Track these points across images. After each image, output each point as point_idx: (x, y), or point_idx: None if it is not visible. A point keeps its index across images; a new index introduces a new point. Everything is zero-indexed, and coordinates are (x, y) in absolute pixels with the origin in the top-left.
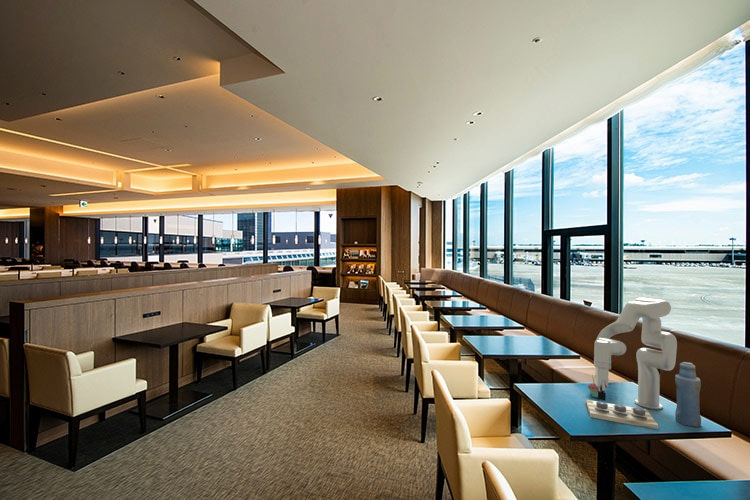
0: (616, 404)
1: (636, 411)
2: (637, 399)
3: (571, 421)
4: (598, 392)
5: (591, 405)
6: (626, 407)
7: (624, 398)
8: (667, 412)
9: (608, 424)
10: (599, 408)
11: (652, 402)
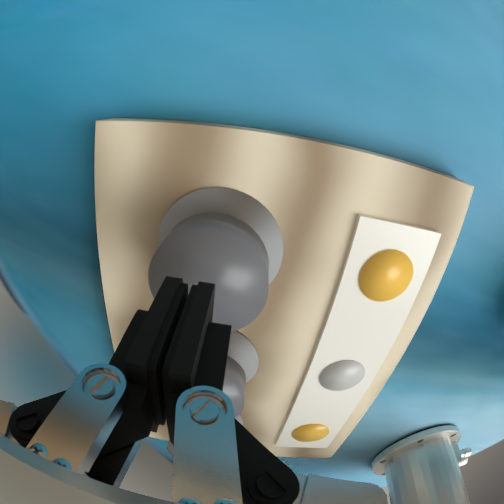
0: (238, 394)
1: None
2: (455, 436)
3: (14, 6)
4: (132, 350)
5: (330, 183)
6: (334, 412)
7: (488, 398)
8: (350, 474)
9: (49, 223)
10: None
11: (388, 476)
